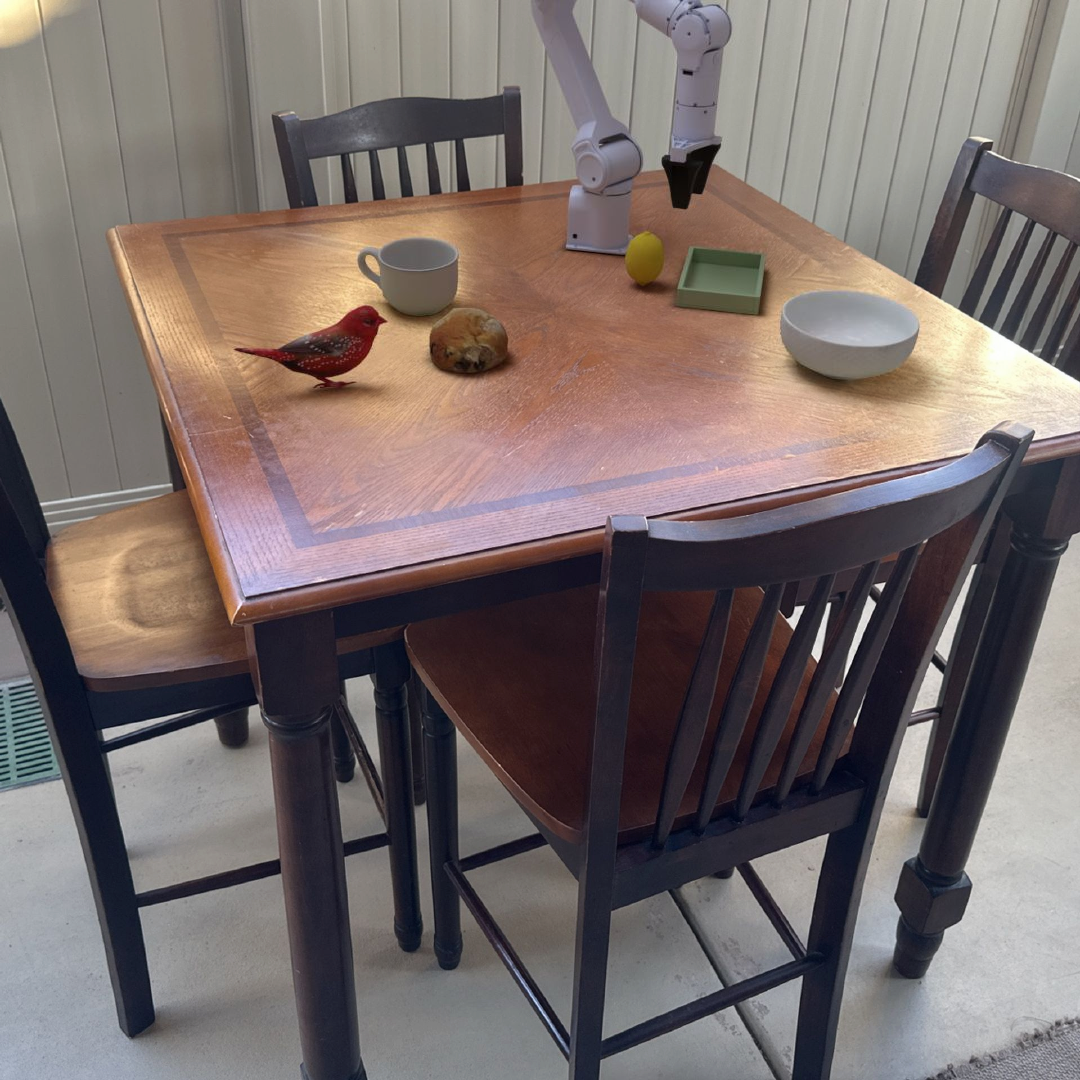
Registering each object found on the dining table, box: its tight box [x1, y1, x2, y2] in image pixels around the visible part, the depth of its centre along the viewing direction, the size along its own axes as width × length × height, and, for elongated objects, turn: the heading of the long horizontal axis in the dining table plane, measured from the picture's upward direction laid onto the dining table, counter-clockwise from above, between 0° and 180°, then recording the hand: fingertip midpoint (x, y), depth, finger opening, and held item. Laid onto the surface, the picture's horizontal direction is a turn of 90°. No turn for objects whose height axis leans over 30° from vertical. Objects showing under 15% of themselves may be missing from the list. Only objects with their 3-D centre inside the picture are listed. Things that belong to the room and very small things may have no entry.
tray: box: [675, 245, 767, 316], centre depth 163 cm, size 11×17×3 cm, turn 168°
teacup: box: [356, 236, 460, 317], centre depth 153 cm, size 14×11×8 cm
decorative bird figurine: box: [233, 304, 388, 389], centre depth 131 cm, size 3×18×10 cm, turn 107°
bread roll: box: [428, 307, 509, 374], centre depth 141 cm, size 10×10×8 cm
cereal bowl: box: [779, 289, 920, 381], centre depth 141 cm, size 17×17×7 cm
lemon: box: [624, 230, 665, 287], centre depth 161 cm, size 6×6×8 cm
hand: (687, 200), depth 163 cm, fingers open, 7 cm apart
